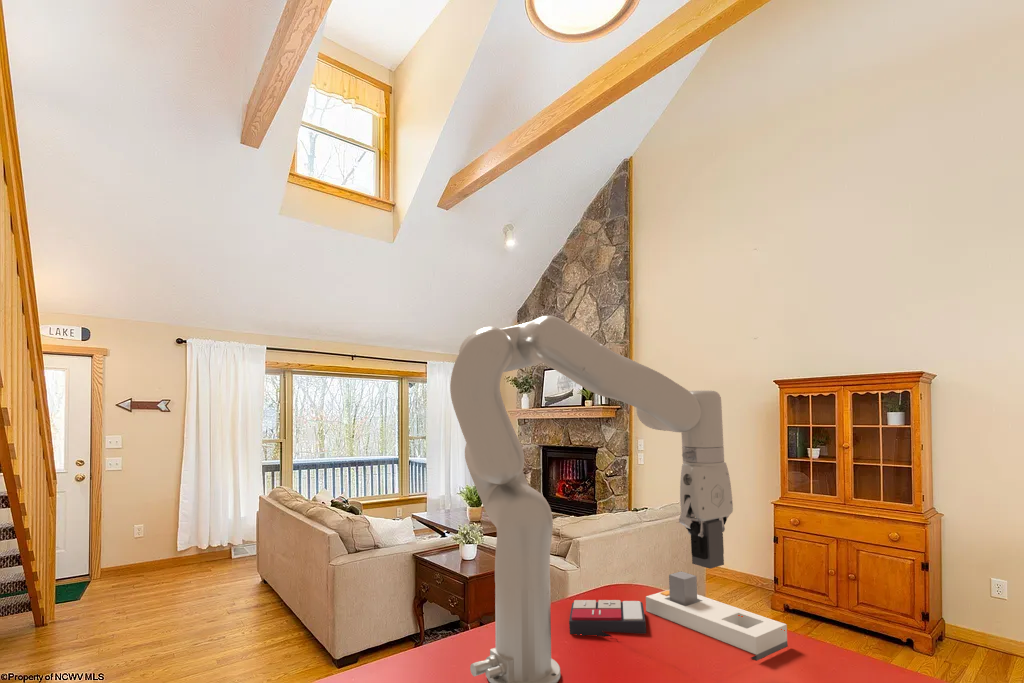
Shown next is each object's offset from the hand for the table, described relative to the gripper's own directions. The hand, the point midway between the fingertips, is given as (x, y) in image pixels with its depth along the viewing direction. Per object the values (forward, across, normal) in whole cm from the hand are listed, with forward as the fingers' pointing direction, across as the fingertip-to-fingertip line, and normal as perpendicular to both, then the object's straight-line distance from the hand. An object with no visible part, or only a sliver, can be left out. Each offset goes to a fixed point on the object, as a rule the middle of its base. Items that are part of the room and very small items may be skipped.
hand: (707, 554), depth 109 cm
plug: (+2, 0, 0) cm, 2 cm away
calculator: (+18, -7, +20) cm, 28 cm away
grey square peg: (+17, +9, +14) cm, 23 cm away
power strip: (+18, +9, +6) cm, 21 cm away
